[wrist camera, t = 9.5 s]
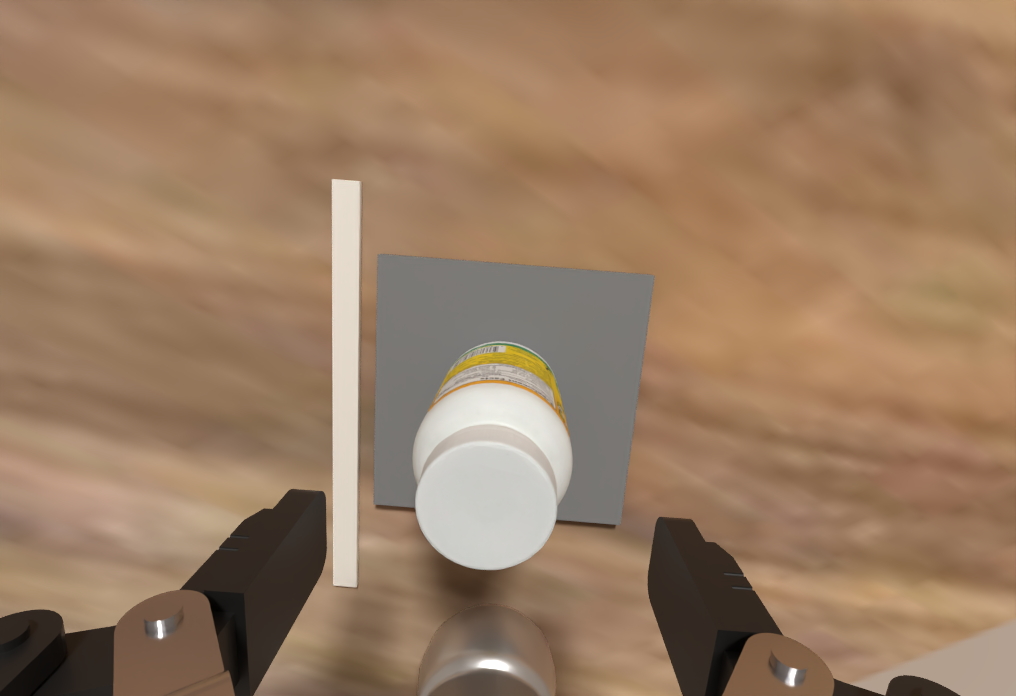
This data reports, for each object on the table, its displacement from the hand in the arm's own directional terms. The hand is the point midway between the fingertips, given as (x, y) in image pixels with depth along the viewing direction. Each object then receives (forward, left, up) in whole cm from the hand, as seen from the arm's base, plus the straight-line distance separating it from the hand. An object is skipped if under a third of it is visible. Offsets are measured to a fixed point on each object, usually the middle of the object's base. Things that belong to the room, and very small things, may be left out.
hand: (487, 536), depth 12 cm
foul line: (+1, -7, -12) cm, 14 cm away
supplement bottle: (0, 0, -12) cm, 12 cm away
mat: (0, 0, -12) cm, 12 cm away
